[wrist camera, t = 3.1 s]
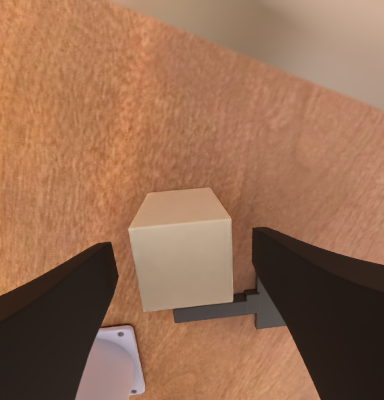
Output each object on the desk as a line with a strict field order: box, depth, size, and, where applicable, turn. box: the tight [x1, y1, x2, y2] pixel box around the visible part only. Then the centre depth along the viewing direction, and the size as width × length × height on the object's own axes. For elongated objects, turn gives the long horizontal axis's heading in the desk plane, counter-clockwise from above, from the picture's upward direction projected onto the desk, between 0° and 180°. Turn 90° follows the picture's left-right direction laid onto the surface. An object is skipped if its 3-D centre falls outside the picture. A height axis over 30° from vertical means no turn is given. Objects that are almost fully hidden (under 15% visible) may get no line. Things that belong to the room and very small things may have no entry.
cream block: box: [128, 187, 233, 312], centre depth 12 cm, size 4×4×6 cm
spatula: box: [173, 273, 287, 329], centre depth 17 cm, size 13×6×1 cm, turn 94°
